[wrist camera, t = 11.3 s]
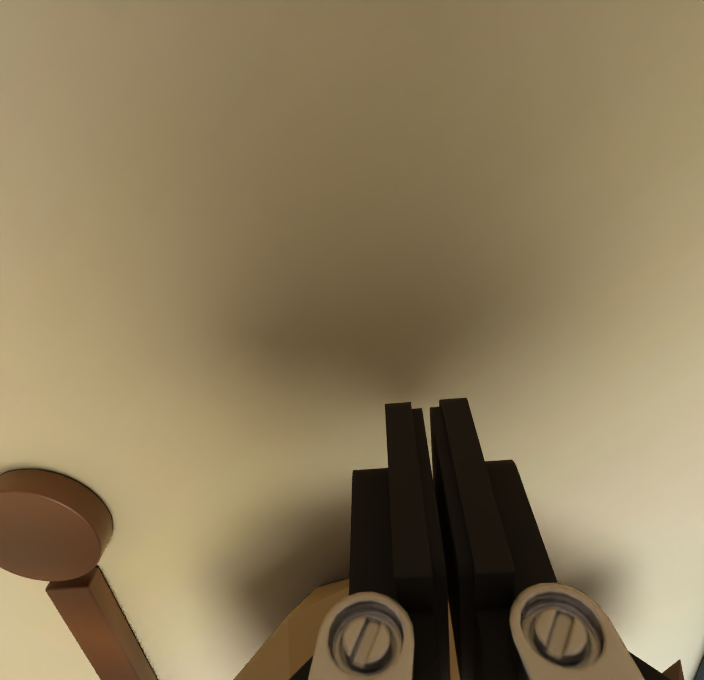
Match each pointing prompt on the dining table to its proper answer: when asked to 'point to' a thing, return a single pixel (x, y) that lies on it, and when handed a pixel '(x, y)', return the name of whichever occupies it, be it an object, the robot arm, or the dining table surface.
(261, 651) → the low-poly potato
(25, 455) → the dining table surface
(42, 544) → the wooden spoon
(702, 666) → the tea towel
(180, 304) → the dining table surface
